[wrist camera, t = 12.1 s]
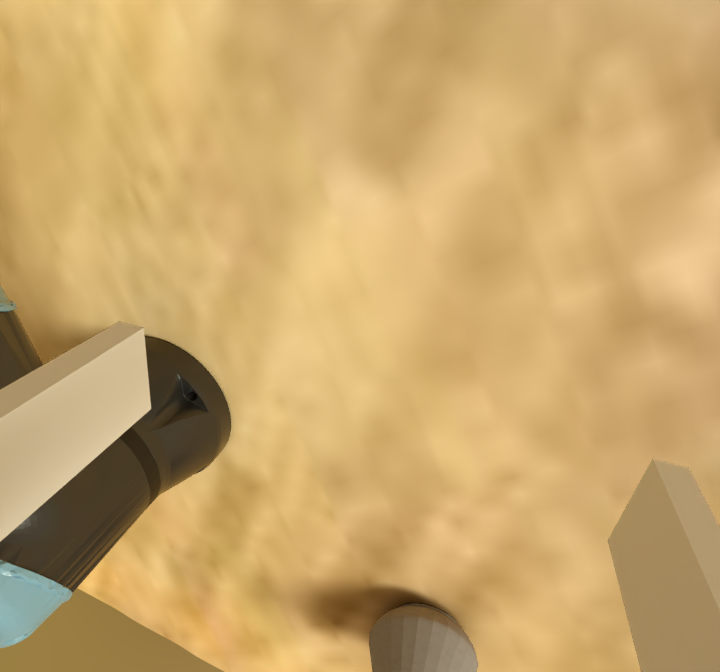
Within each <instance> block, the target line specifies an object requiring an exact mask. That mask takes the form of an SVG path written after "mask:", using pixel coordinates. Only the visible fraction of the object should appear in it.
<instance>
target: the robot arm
mask: <svg viewBox="0 0 720 672" xmlns="http://www.w3.org/2000/svg"><path fill="white" fill-rule="evenodd" d="M15 309H17V306H16V304H15V303H14V302H13V301H10V300H9V298H8V297H7V295H6V294H5V292H4V290H3V289H2V287H1V285H0V648H4V647H8V646H11V645H14V644H17V643H19V642H20V641H22V640H24V639H25V638H27V637H28V636H29V635H31V634H32V633H33V632H34V631H35V630H36V629H37V627H39V626H40V625H41V623H43V622H44V620H46V619H47V618H48V617H49V616H50V615H51V614H52V613H53V612H54V611H55V610H56V609H57V608H58V607H59V606H60V605H61V604H62V603H63V602H66V601H67V600H69V599H70V597H71V596H72V594H73V592H74V590H75V589H76V588H77V587H78V586H79V585H80V584H81V583H82V581H83V580H84V579H85V578H86V577H87V576H88V575H89V573H90V572H91V571H92V570H93V569H94V568H95V567H96V565H97V564H98V563H99V562H100V561H101V560H102V559H103V558H104V556H105V555H106V554H107V553H108V552H109V551H110V550H111V548H112V547H113V546H114V545H115V544H116V543H117V542H118V540H119V539H120V538H121V537H122V536H123V535H124V534H125V533H126V531H127V530H128V529H129V528H130V527H131V526H132V525H133V523H134V522H135V521H136V520H137V519H138V518H139V517H140V515H141V514H142V513H143V512H144V511H145V510H146V509H147V508H148V506H149V505H150V504H151V503H152V502H153V501H154V500H155V499H156V498H157V497H158V496H159V495H160V494H162V493H163V492H165V491H167V490H169V489H170V488H172V487H174V486H175V485H177V484H179V483H181V482H182V481H184V480H186V479H187V478H189V477H190V476H192V475H193V474H196V473H198V472H200V471H202V470H204V469H205V468H206V467H207V466H209V465H210V464H211V463H212V462H213V461H214V459H215V458H216V457H217V456H218V455H219V453H220V452H221V451H222V450H223V449H224V447H225V446H226V444H227V442H228V439H229V436H230V431H231V418H230V412H229V408H228V404H227V402H226V399H225V397H224V395H223V393H222V391H221V389H220V387H219V386H218V384H217V382H216V381H215V380H214V378H213V377H212V376H211V374H210V373H209V372H208V371H207V370H206V369H205V368H204V367H203V366H202V365H201V364H200V363H199V362H198V361H197V360H196V359H195V358H193V357H192V356H191V355H189V354H188V353H186V352H185V351H183V350H182V349H180V348H178V347H176V346H174V345H172V344H170V343H168V342H165V341H162V340H159V339H155V338H149V337H145V335H144V328H143V327H139V326H135V325H131V324H127V323H123V322H120V321H119V322H117V323H116V324H114V325H112V326H110V327H109V328H107V329H105V330H104V331H102V332H100V333H98V334H97V335H95V336H93V337H91V338H90V339H88V340H86V341H84V342H83V343H81V344H79V345H77V346H76V347H74V348H72V349H70V350H69V351H67V352H65V353H63V354H62V355H60V356H58V357H56V358H55V359H53V360H51V361H50V362H48V363H46V364H44V365H43V364H42V362H41V360H40V358H39V356H38V355H37V353H36V351H35V349H34V347H33V345H32V343H31V341H30V339H29V337H28V336H27V334H26V332H25V330H24V328H23V326H22V324H21V322H20V320H19V318H18V316H17V314H16V312H15ZM608 543H609V547H610V551H611V555H612V559H613V563H614V567H615V571H616V575H617V579H618V583H619V587H620V591H621V594H622V598H623V602H624V606H625V610H626V614H627V618H628V622H629V626H630V630H631V634H632V638H633V642H634V646H635V650H636V654H637V657H638V661H639V665H640V669H641V672H720V526H719V524H718V522H717V520H716V518H715V516H714V515H713V513H712V511H711V509H710V507H709V505H708V503H707V501H706V499H705V498H704V496H703V494H702V492H701V490H700V488H699V486H698V484H697V482H696V480H695V479H694V477H693V475H692V473H691V471H690V469H689V468H688V467H684V466H680V465H676V464H672V463H668V462H664V461H660V460H657V459H652V461H651V463H650V464H649V466H648V468H647V470H646V472H645V474H644V475H643V477H642V479H641V481H640V483H639V484H638V486H637V488H636V490H635V492H634V494H633V495H632V497H631V499H630V501H629V503H628V504H627V506H626V508H625V510H624V512H623V514H622V515H621V517H620V519H619V521H618V523H617V524H616V526H615V528H614V530H613V532H612V533H611V535H610V537H609V539H608Z"/></svg>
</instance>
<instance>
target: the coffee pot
mask: <svg viewBox="0 0 720 672" xmlns="http://www.w3.org/2000/svg"><path fill="white" fill-rule="evenodd" d="M369 647H370V655H371V663H372V671H373V672H477V668H478V662H477V657H476V653H475V650H474V647H473V644H472V643H471V641H470V639H469V638H468V636H467V635H466V633H465V632H464V631H463V630H462V629H461V628H460V627H459V626H458V624H457V622H456V621H455V620H454V619H453V618H452V617H451V616H449V615H448V614H446V613H445V612H443V611H441V610H439V609H437V608H435V607H432V606H429V605H425V604H417V603H413V604H405V605H402V606H400V607H398V608H396V609H393V610H390V611H388V612H386V613H385V614H384V615H382V616H381V617H380V618H379V619H378V620H377V621H376V622H375V624H374V626H373V627H372V629H371V631H370V635H369Z"/></svg>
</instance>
